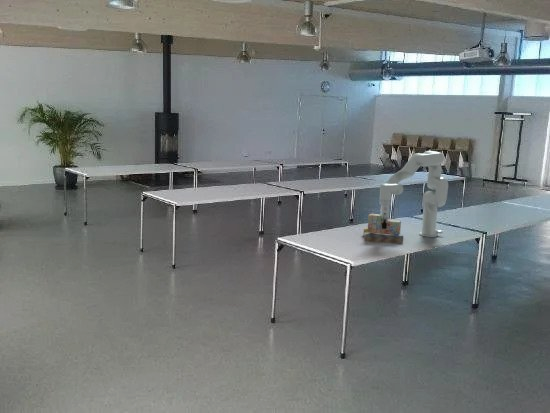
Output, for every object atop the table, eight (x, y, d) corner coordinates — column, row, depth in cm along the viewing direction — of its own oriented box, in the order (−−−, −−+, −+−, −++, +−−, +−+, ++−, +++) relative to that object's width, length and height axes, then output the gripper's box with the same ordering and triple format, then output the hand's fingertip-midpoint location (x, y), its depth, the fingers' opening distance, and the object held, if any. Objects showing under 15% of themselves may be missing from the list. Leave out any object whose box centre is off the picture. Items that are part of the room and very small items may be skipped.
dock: (399, 236, 378) (399, 229, 377) (402, 243, 360) (403, 236, 359) (363, 235, 381) (363, 228, 380) (365, 241, 362) (365, 234, 361)
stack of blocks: (400, 234, 368) (401, 216, 366) (398, 235, 362) (399, 217, 360) (369, 230, 377) (370, 213, 374) (367, 232, 371) (368, 214, 369)
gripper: (391, 204, 357) (390, 230, 360) (389, 200, 374) (387, 224, 377) (380, 203, 358) (378, 229, 361) (378, 199, 375) (376, 224, 378)
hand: (383, 227), depth 369 cm, fingers closed on stack of blocks, 7 cm apart
